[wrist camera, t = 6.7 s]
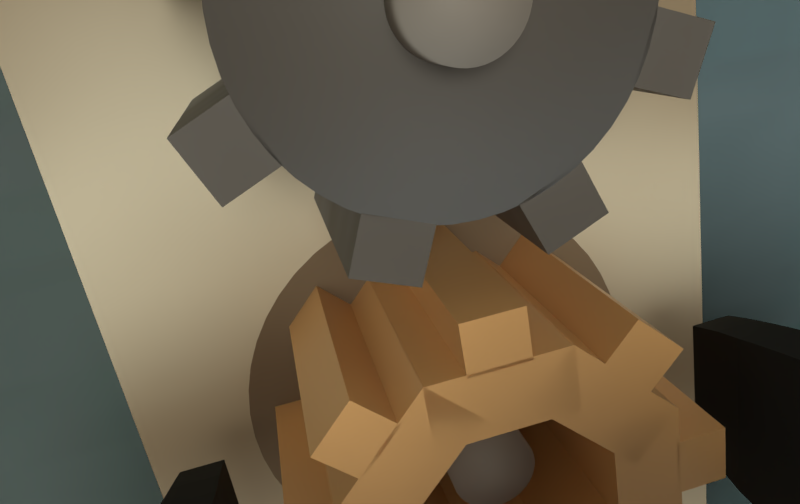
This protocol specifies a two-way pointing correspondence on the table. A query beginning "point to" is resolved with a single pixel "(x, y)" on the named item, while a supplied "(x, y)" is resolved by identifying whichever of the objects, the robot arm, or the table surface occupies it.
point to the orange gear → (488, 388)
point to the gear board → (252, 239)
